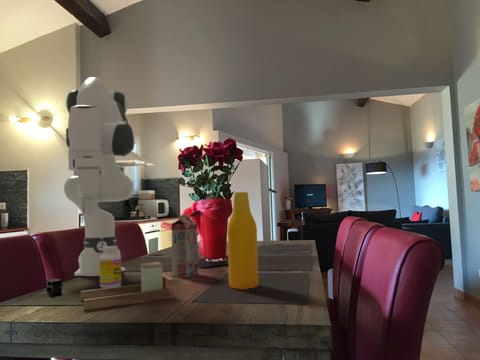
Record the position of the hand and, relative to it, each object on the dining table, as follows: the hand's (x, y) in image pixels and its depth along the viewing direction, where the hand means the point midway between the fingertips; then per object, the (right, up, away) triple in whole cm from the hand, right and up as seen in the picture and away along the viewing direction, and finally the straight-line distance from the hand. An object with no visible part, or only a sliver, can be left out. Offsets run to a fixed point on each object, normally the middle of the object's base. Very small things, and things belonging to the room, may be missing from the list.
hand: (87, 214), depth 104 cm
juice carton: (+21, -26, +37) cm, 50 cm away
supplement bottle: (-1, -26, +21) cm, 33 cm away
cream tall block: (+16, -24, +6) cm, 29 cm away
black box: (-15, -26, +13) cm, 33 cm away
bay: (+9, -24, +3) cm, 26 cm away
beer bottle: (+43, -24, +14) cm, 51 cm away
